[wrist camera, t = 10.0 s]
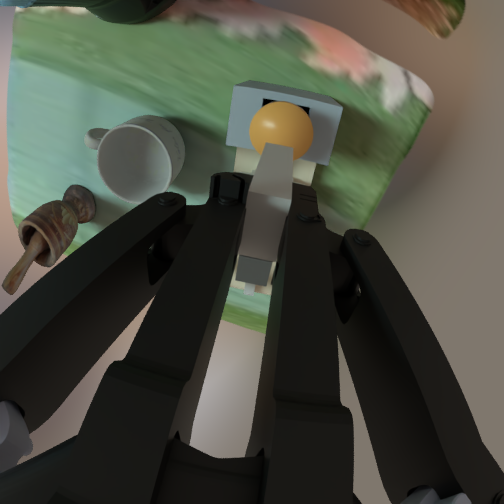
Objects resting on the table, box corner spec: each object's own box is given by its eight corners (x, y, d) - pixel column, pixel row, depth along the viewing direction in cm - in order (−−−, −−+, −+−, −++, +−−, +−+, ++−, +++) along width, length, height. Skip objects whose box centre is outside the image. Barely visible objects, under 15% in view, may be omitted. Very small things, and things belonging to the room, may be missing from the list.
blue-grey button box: (249, 80, 31) (233, 85, 23) (333, 97, 31) (347, 108, 23) (242, 124, 35) (225, 144, 27) (323, 141, 35) (331, 166, 27)
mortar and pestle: (93, 242, 50) (34, 317, 34) (60, 223, 49) (-3, 290, 33) (102, 193, 44) (26, 269, 28) (65, 174, 42) (-15, 238, 26)
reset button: (263, 90, 26) (254, 97, 21) (314, 100, 26) (319, 110, 21) (255, 136, 30) (245, 156, 24) (303, 146, 29) (305, 168, 24)
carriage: (241, 167, 36) (213, 226, 25) (304, 180, 36) (307, 245, 24) (233, 220, 41) (208, 292, 29) (290, 232, 41) (286, 309, 29)
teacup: (208, 142, 37) (188, 161, 31) (166, 195, 43) (144, 222, 36) (132, 84, 33) (99, 92, 26) (99, 142, 38) (68, 161, 32)
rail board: (240, 139, 36) (235, 146, 33) (316, 154, 36) (318, 163, 33) (222, 276, 51) (217, 290, 48) (279, 288, 51) (277, 303, 48)
